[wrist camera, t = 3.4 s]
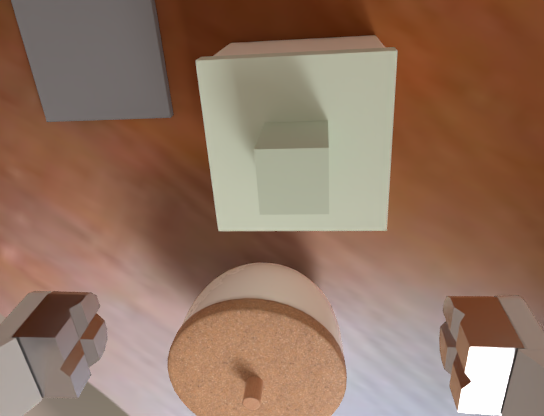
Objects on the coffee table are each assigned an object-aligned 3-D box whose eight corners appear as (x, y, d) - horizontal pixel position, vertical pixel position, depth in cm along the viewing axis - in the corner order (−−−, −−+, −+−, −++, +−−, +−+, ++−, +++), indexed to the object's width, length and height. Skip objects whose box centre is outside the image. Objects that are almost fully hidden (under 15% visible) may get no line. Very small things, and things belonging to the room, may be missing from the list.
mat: (149, -33, 24) (145, -33, 24) (173, 114, 28) (170, 117, 27) (11, -22, 25) (4, -22, 25) (52, 119, 29) (47, 121, 28)
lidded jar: (171, 301, 35) (124, 403, 26) (254, 207, 30) (228, 295, 22) (281, 371, 37) (268, 486, 29) (373, 293, 33) (390, 403, 24)
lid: (394, 47, 19) (412, 66, 15) (384, 220, 23) (396, 272, 19) (200, 56, 20) (170, 77, 16) (222, 221, 24) (201, 271, 20)
